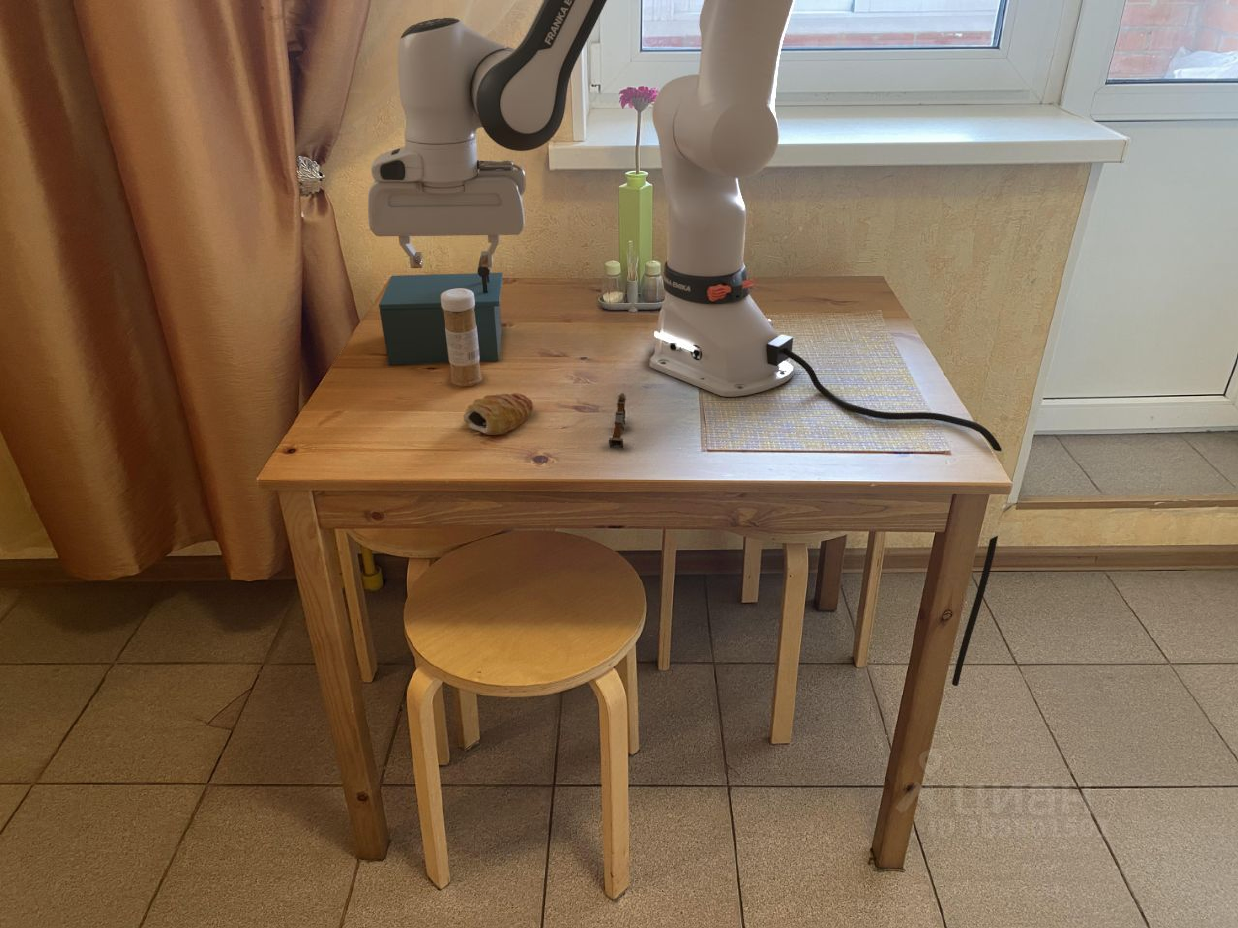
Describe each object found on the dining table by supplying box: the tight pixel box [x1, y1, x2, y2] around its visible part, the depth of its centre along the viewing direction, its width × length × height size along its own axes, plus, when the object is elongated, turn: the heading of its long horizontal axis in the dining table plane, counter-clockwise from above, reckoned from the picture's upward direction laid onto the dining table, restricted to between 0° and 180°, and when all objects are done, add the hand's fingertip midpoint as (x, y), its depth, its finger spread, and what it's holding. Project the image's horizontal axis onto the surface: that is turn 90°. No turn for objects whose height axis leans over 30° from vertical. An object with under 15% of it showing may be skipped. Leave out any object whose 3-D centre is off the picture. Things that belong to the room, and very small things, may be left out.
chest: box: [379, 305, 503, 366], centre depth 137 cm, size 17×13×9 cm
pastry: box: [463, 392, 534, 436], centre depth 117 cm, size 9×7×4 cm
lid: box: [378, 256, 504, 311], centre depth 133 cm, size 17×13×5 cm
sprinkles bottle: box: [441, 288, 483, 387], centre depth 125 cm, size 5×5×14 cm
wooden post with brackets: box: [608, 392, 627, 450], centre depth 114 cm, size 2×8×4 cm, turn 173°
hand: (452, 266), depth 120 cm, fingers open, 8 cm apart
